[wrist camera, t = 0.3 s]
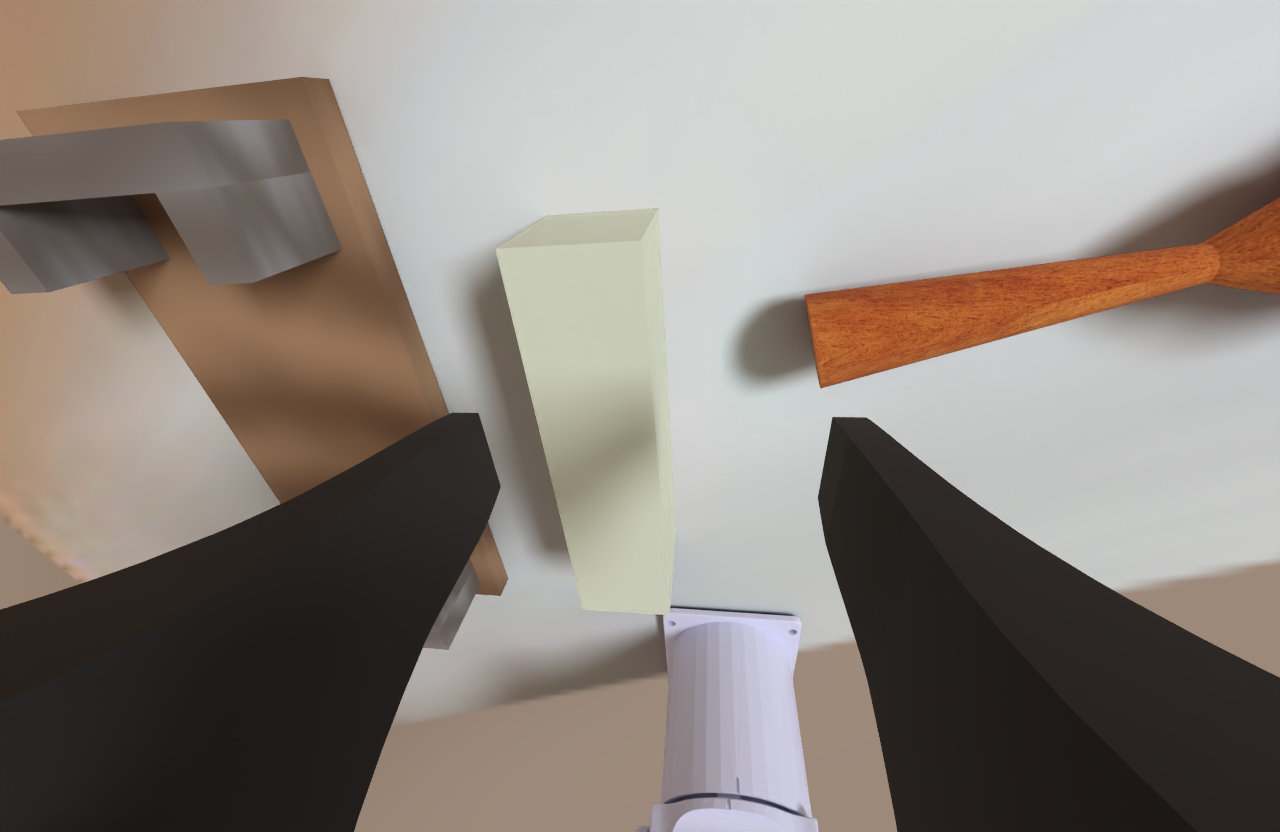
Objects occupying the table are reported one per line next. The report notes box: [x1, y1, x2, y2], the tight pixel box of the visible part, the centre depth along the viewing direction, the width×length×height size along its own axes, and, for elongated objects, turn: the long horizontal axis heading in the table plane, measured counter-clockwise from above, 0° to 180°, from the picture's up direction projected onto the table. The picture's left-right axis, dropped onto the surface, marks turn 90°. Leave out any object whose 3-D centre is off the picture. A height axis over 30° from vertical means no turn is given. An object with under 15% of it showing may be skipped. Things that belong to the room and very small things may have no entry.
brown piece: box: [805, 198, 1280, 388], centre depth 13 cm, size 6×6×20 cm
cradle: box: [0, 77, 508, 650], centre depth 20 cm, size 25×11×5 cm, turn 4°
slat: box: [495, 208, 676, 615], centre depth 19 cm, size 16×4×5 cm, turn 5°
